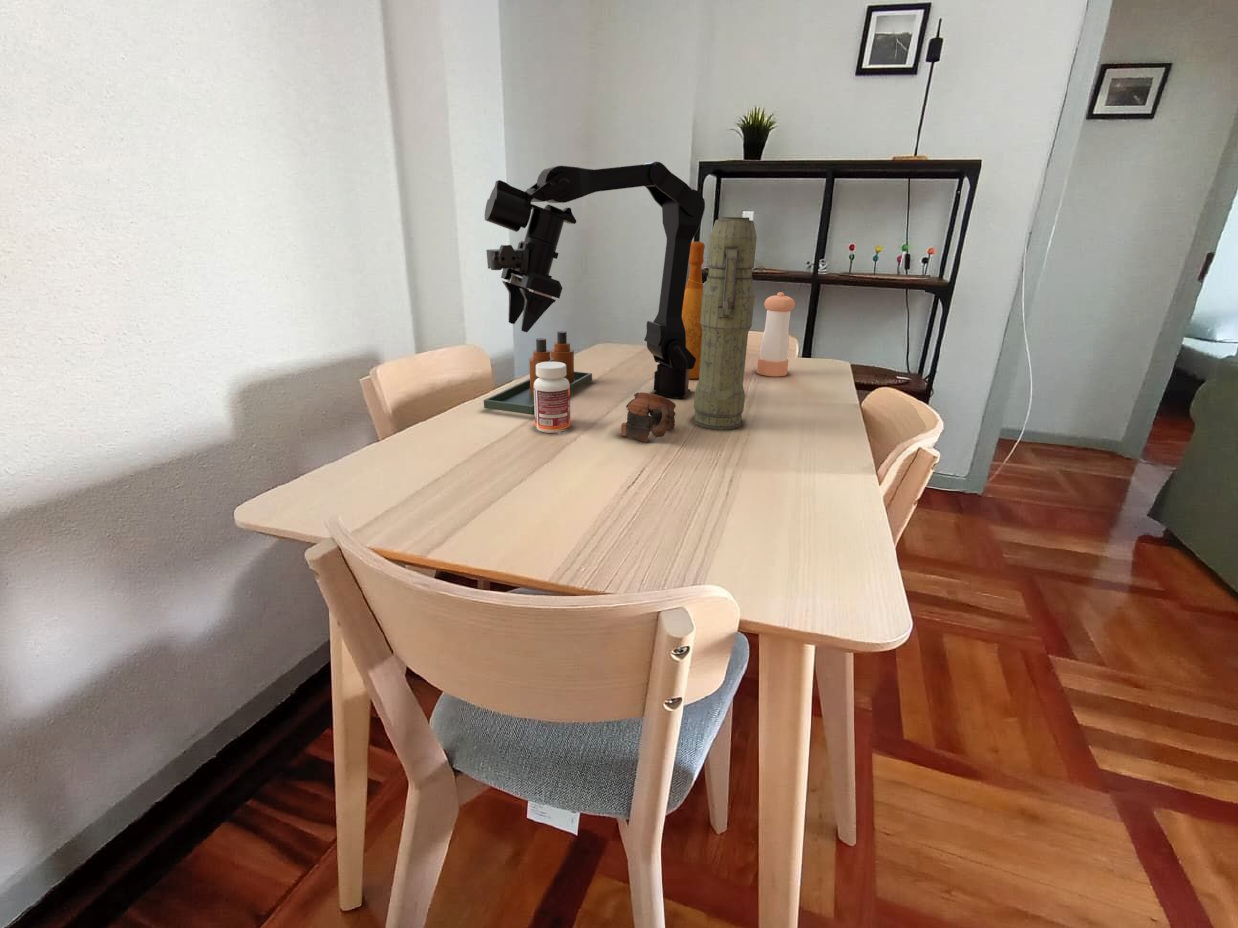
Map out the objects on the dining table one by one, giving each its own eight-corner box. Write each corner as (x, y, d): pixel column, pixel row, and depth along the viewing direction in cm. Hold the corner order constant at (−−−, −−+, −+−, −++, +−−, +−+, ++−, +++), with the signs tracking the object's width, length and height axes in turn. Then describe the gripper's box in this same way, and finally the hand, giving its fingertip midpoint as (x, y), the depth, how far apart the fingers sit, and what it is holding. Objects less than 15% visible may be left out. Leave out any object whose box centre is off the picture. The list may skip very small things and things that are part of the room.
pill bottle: (576, 430, 106) (576, 366, 102) (545, 436, 103) (543, 370, 99) (559, 420, 111) (558, 359, 107) (529, 426, 108) (526, 363, 104)
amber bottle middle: (558, 391, 127) (558, 338, 123) (547, 397, 122) (546, 342, 118) (537, 388, 128) (535, 336, 124) (526, 394, 124) (523, 340, 120)
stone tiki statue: (737, 413, 117) (756, 217, 104) (746, 433, 107) (768, 218, 93) (691, 411, 118) (704, 216, 105) (695, 431, 107) (710, 216, 94)
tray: (592, 383, 136) (592, 373, 136) (532, 418, 112) (531, 406, 111) (551, 378, 140) (551, 368, 139) (484, 411, 115) (483, 400, 114)
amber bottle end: (577, 380, 135) (577, 330, 131) (568, 386, 131) (567, 334, 127) (557, 378, 137) (556, 329, 133) (547, 383, 132) (545, 332, 128)
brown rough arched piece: (607, 434, 106) (621, 389, 107) (650, 450, 111) (663, 407, 112) (644, 437, 96) (659, 387, 96) (689, 455, 101) (703, 407, 101)
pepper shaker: (750, 372, 149) (758, 291, 142) (767, 368, 154) (776, 290, 147) (775, 378, 144) (785, 295, 137) (792, 373, 149) (803, 293, 142)
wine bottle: (712, 380, 141) (723, 243, 129) (669, 379, 141) (676, 242, 130) (706, 370, 150) (716, 241, 139) (667, 369, 150) (673, 240, 139)
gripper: (486, 224, 112) (464, 307, 115) (511, 226, 96) (485, 323, 99) (542, 244, 117) (520, 324, 121) (574, 250, 101) (548, 341, 105)
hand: (517, 327), depth 111 cm, fingers open, 9 cm apart
